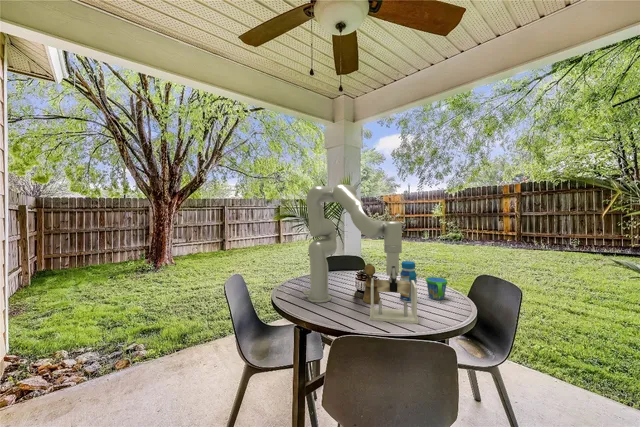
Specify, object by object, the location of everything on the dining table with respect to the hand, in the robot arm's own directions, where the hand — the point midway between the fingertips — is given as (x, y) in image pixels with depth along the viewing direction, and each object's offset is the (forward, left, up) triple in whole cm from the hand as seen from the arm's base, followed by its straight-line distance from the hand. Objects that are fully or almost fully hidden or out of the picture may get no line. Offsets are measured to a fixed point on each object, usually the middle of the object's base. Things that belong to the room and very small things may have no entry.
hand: (393, 289), depth 125 cm
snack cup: (+24, +30, -12) cm, 40 cm away
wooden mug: (-10, +21, -12) cm, 26 cm away
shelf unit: (0, 0, -12) cm, 12 cm away
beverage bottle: (+9, +24, -12) cm, 28 cm away
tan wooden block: (0, 0, -1) cm, 1 cm away
